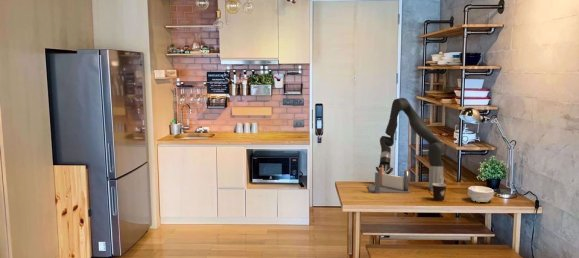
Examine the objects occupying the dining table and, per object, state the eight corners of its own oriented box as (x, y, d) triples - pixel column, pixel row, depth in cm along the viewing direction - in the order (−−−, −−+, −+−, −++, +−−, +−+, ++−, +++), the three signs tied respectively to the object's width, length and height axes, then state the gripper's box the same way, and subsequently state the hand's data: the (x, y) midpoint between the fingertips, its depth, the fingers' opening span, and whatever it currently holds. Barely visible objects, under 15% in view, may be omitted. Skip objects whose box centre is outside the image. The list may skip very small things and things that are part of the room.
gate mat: (405, 187, 328) (405, 185, 328) (410, 193, 312) (410, 191, 311) (367, 186, 330) (367, 185, 330) (370, 192, 313) (370, 191, 313)
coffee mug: (444, 198, 299) (444, 183, 297) (447, 201, 290) (447, 186, 289) (425, 197, 300) (426, 182, 299) (428, 201, 291) (429, 186, 290)
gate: (404, 189, 316) (404, 171, 315) (402, 189, 315) (402, 171, 313) (381, 184, 330) (381, 167, 328) (379, 185, 328) (379, 168, 327)
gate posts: (407, 191, 316) (407, 170, 314) (408, 192, 313) (409, 171, 311) (374, 192, 314) (374, 170, 312) (375, 193, 311) (375, 171, 309)
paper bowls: (496, 204, 284) (496, 192, 283) (470, 203, 286) (470, 191, 286) (489, 198, 299) (490, 186, 298) (465, 197, 301) (465, 185, 300)
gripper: (375, 155, 338) (373, 175, 328) (394, 156, 334) (392, 176, 324) (376, 161, 344) (374, 181, 334) (394, 162, 340) (393, 182, 330)
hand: (383, 178), depth 329 cm, fingers closed
